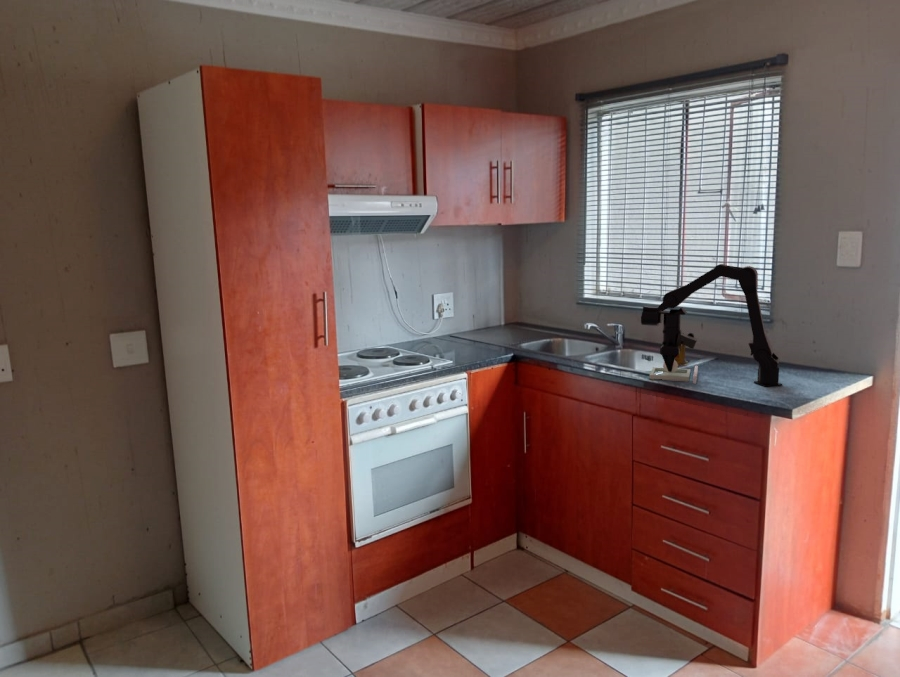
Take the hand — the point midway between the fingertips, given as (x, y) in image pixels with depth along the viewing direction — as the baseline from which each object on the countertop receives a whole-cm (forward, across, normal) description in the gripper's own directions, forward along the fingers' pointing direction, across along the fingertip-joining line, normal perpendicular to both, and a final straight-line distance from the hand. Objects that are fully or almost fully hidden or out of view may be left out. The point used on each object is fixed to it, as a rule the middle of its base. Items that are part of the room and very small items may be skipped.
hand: (670, 370), depth 243 cm
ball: (-2, 0, 0) cm, 2 cm away
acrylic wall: (+2, 0, -8) cm, 9 cm away
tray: (+2, 0, 0) cm, 2 cm away
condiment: (+3, +24, -1) cm, 24 cm away
